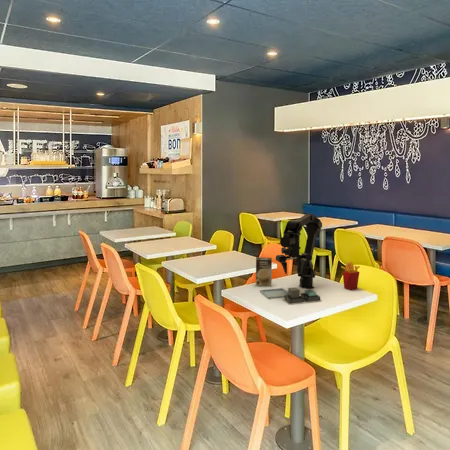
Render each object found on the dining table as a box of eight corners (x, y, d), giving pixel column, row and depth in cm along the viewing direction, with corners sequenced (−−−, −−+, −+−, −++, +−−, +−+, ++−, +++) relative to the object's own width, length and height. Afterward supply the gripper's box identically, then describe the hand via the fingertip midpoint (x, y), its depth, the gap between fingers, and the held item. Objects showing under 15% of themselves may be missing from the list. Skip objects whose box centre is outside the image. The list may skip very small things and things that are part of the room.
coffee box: (255, 287, 246) (255, 259, 244) (255, 284, 252) (255, 257, 250) (271, 287, 245) (271, 259, 243) (271, 284, 251) (271, 257, 249)
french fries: (359, 289, 238) (360, 262, 236) (348, 291, 235) (348, 264, 233) (348, 285, 246) (349, 259, 244) (337, 287, 243) (337, 261, 241)
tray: (282, 290, 238) (282, 287, 238) (291, 297, 225) (291, 294, 225) (259, 292, 235) (259, 290, 235) (268, 300, 222) (268, 297, 222)
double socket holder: (314, 297, 225) (315, 288, 224) (322, 302, 217) (322, 292, 216) (282, 300, 221) (282, 291, 220) (288, 305, 213) (288, 295, 212)
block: (295, 298, 221) (295, 287, 220) (299, 301, 216) (299, 290, 215) (288, 299, 220) (288, 287, 219) (292, 302, 215) (292, 290, 214)
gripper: (303, 240, 238) (303, 268, 240) (272, 242, 233) (272, 271, 235) (312, 244, 227) (312, 273, 229) (279, 246, 223) (279, 276, 225)
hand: (293, 273), depth 230 cm, fingers open, 9 cm apart
